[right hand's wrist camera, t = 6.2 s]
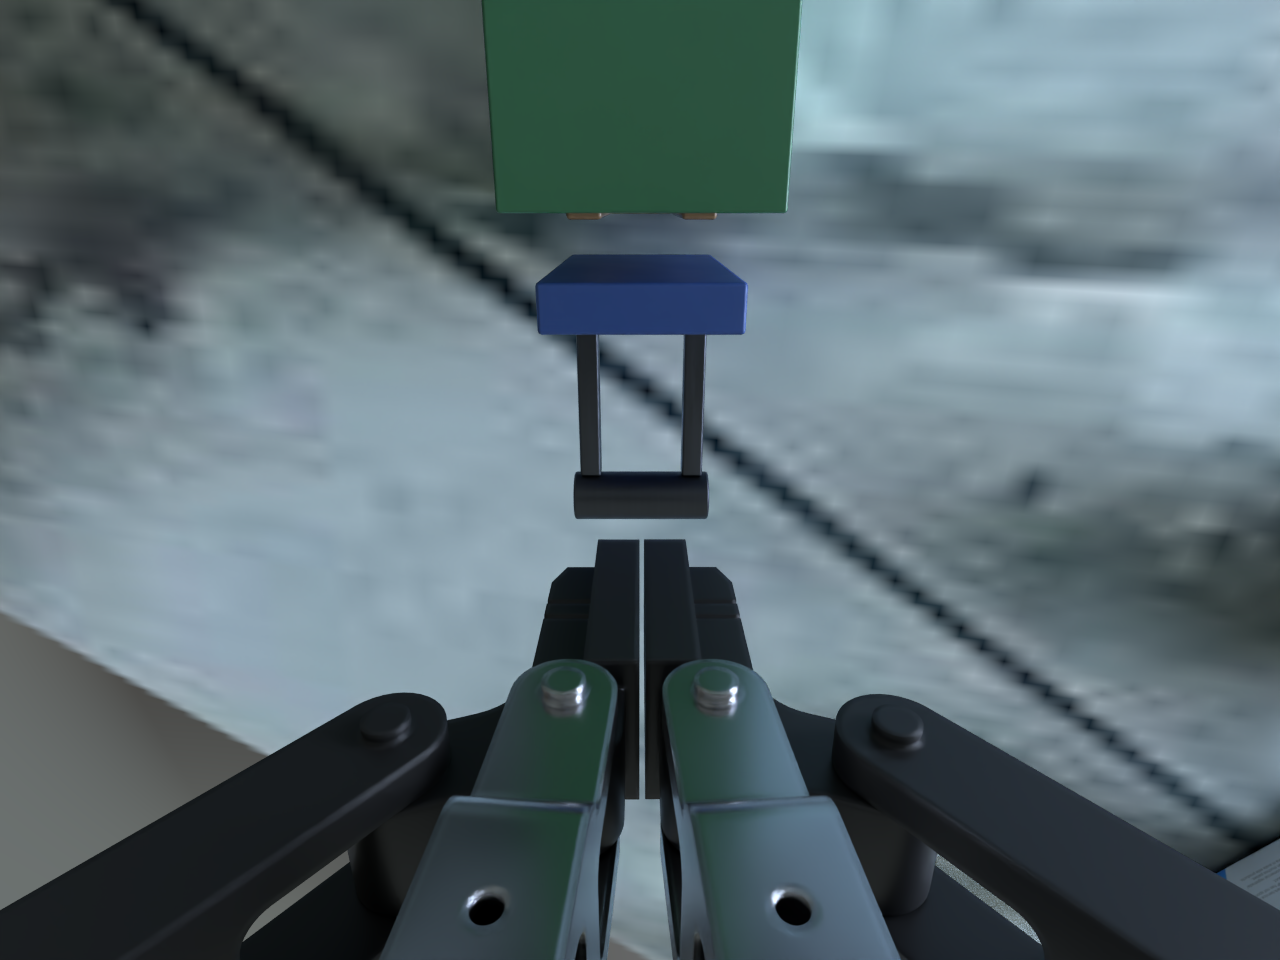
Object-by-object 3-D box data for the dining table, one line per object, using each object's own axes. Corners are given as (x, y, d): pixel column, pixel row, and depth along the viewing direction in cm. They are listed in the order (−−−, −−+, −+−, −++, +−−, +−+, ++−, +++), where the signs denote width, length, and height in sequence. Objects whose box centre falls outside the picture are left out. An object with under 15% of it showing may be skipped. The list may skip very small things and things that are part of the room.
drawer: (704, 452, 27) (733, 565, 19) (577, 452, 27) (549, 565, 19) (737, -486, 18) (823, -1100, 10) (545, -486, 18) (461, -1098, 10)
